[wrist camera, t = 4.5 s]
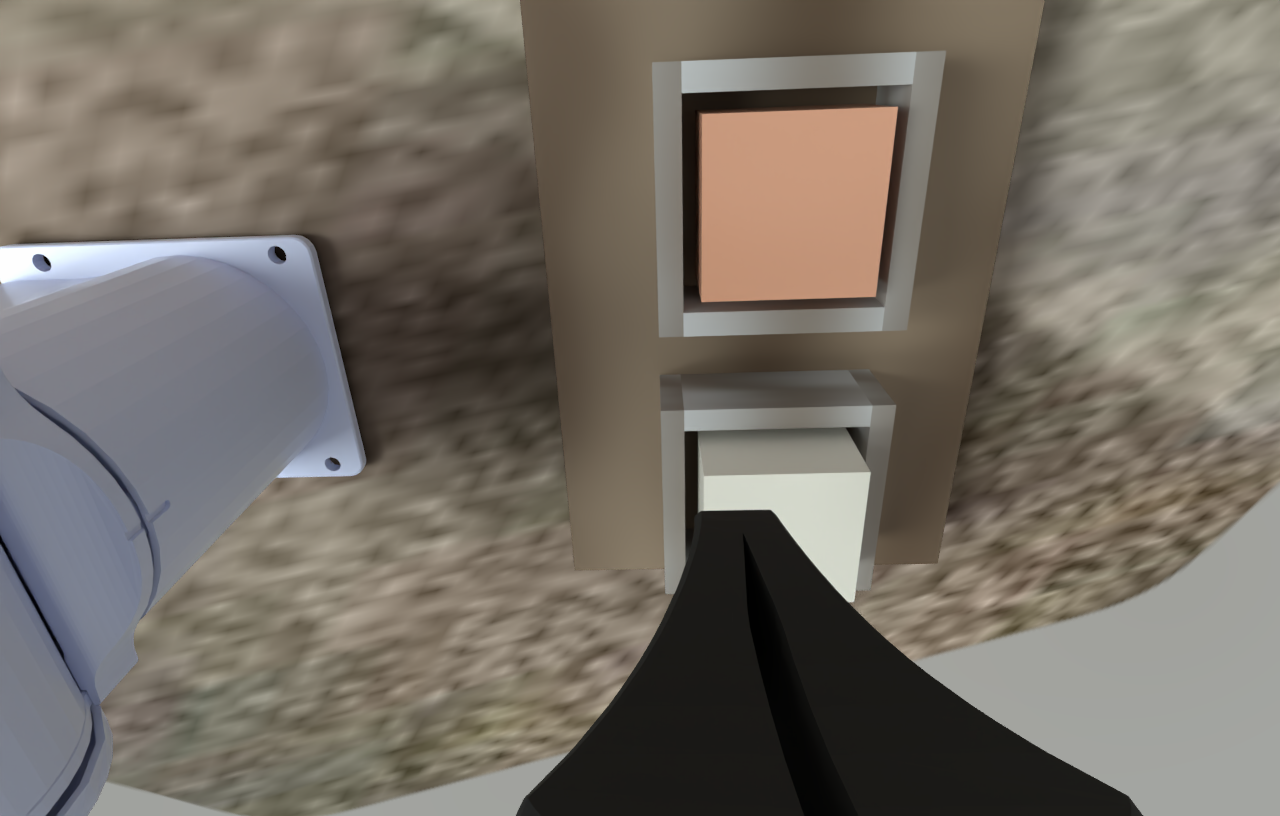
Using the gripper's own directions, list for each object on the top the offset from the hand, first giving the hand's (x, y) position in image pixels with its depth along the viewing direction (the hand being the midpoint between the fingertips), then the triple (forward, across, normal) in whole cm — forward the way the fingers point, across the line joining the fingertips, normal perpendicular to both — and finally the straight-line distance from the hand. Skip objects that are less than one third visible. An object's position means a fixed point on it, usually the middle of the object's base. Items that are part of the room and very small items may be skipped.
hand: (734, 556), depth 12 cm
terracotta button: (+8, -2, -5) cm, 10 cm away
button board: (+10, -2, -5) cm, 12 cm away
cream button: (+7, -2, +3) cm, 8 cm away
